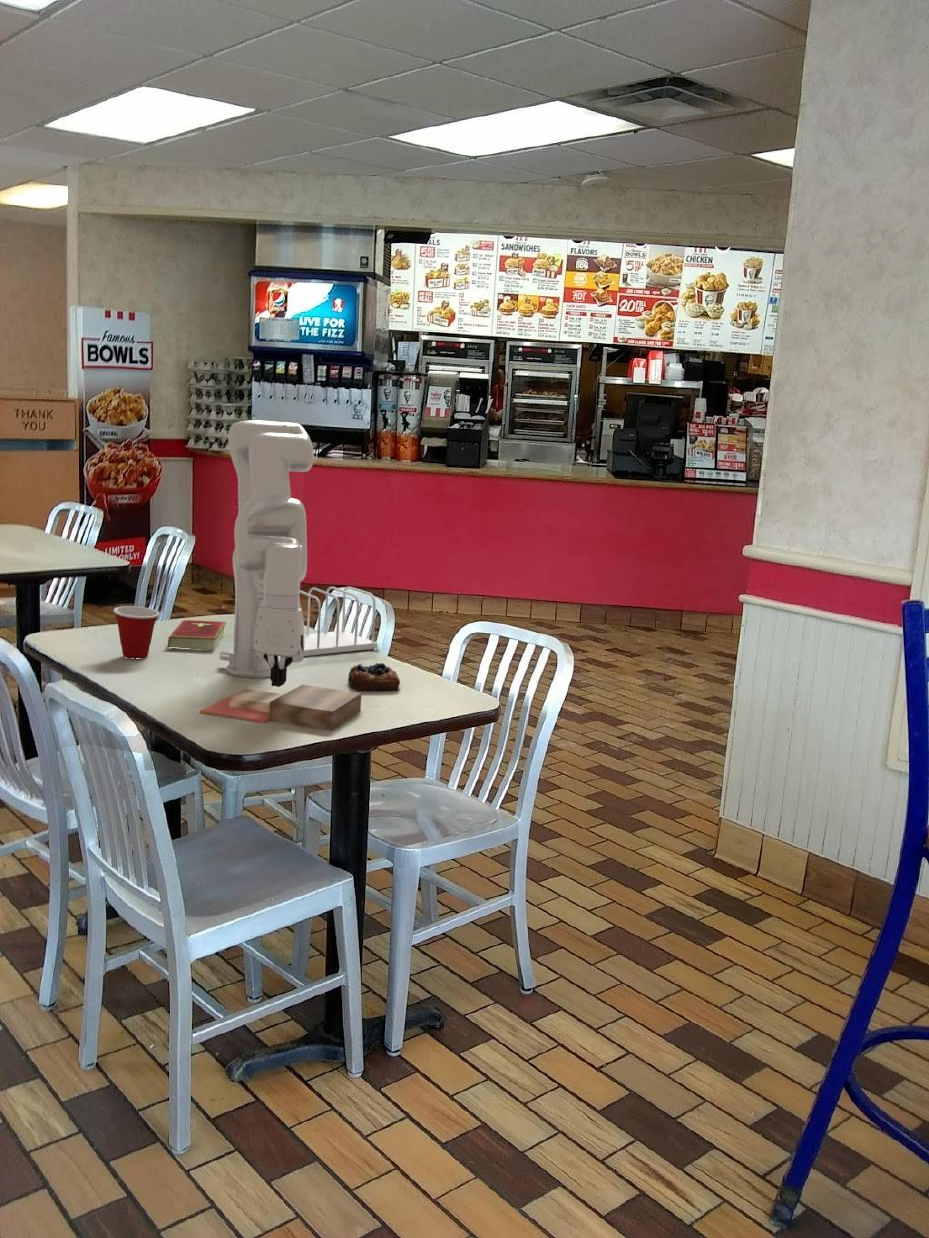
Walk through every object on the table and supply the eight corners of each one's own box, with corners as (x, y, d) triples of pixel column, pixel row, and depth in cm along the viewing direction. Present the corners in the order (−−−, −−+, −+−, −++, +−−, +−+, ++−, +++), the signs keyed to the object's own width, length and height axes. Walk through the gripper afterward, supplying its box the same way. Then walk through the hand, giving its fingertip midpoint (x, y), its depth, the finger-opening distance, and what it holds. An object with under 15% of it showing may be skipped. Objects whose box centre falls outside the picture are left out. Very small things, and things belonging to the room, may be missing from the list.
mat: (200, 712, 224) (200, 710, 224) (244, 690, 243) (245, 688, 243) (264, 722, 220) (264, 720, 220) (304, 699, 239) (305, 697, 239)
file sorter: (344, 637, 305) (347, 583, 302) (377, 650, 292) (381, 594, 289) (265, 643, 290) (267, 587, 287) (296, 658, 277) (299, 599, 274)
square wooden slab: (269, 720, 222) (269, 701, 221) (301, 701, 237) (302, 684, 236) (331, 730, 218) (332, 711, 217) (360, 710, 233) (361, 693, 233)
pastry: (343, 681, 258) (345, 657, 257) (391, 680, 262) (393, 657, 261) (353, 693, 248) (355, 669, 247) (403, 692, 252) (405, 668, 250)
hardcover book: (167, 650, 276) (168, 634, 275) (181, 633, 297) (182, 618, 296) (215, 652, 277) (215, 637, 277) (225, 635, 298) (226, 620, 297)
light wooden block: (229, 706, 228) (229, 697, 227) (246, 697, 235) (246, 688, 235) (276, 713, 225) (277, 704, 225) (292, 704, 233) (292, 695, 232)
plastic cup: (147, 664, 259) (147, 615, 257) (105, 659, 261) (105, 611, 259) (166, 654, 270) (167, 608, 268) (126, 650, 272) (126, 604, 269)
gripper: (240, 599, 224) (238, 684, 227) (306, 608, 220) (302, 694, 224) (257, 594, 231) (254, 676, 235) (321, 602, 227) (317, 686, 231)
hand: (278, 684), depth 229 cm, fingers closed
